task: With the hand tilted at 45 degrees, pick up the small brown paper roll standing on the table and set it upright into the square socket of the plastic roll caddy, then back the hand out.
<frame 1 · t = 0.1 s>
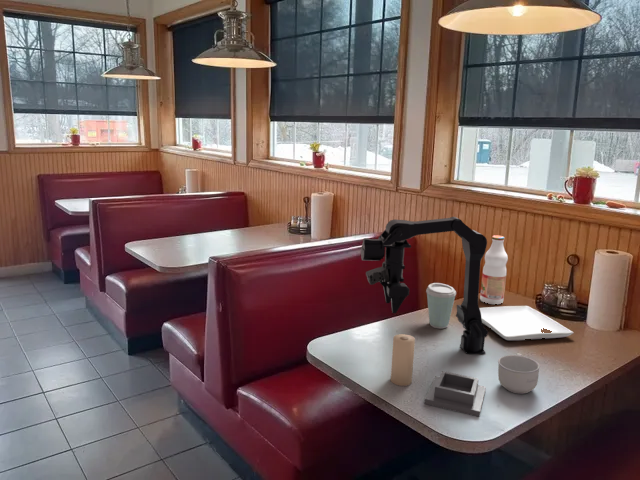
hand: (390, 308, 166), 15 cm above the table, tool pointing down, fingers open, 9 cm apart
roll caddy: (455, 397, 142), on the table
disposable coffee cup: (438, 326, 192), on the table
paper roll: (401, 380, 150), on the table
teacup: (516, 386, 149), on the table
fruit juice: (491, 301, 221), on the table
square plate: (516, 329, 193), on the table
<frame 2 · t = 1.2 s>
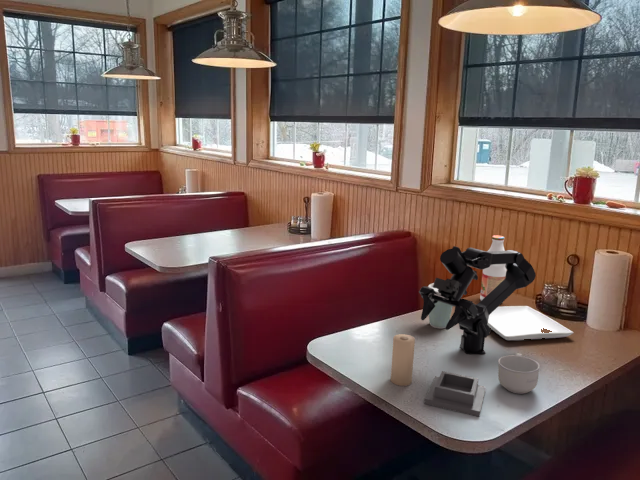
hand: (433, 324, 157), 13 cm above the table, tool tilted 45°, fingers open, 9 cm apart
nothing on the table moved.
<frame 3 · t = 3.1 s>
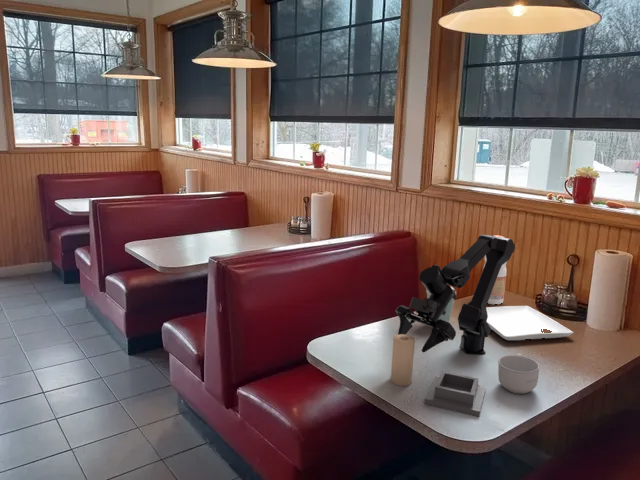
hand: (409, 346, 150), 10 cm above the table, tool tilted 45°, fingers open, 9 cm apart
nothing on the table moved.
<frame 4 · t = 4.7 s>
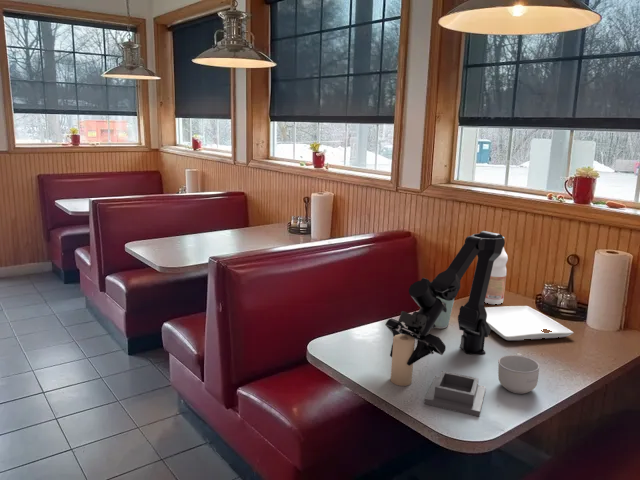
hand: (399, 360, 148), 7 cm above the table, tool tilted 45°, fingers closed on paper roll, 6 cm apart
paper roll: (401, 380, 150), on the table, touching gripper
everything else where it was.
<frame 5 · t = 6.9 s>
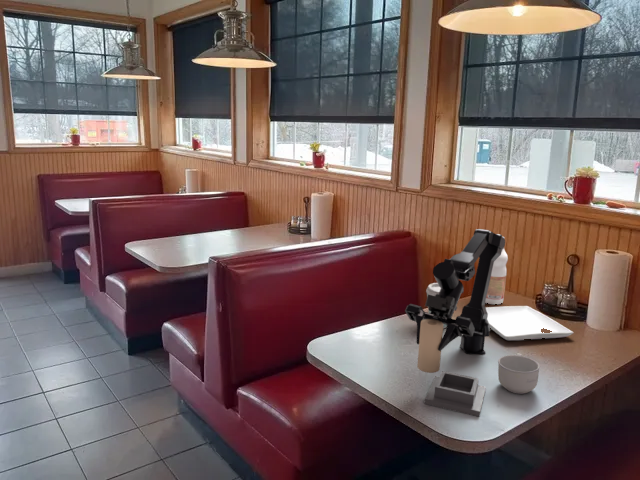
hand: (428, 346, 141), 13 cm above the table, tool tilted 45°, fingers closed on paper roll, 6 cm apart
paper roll: (428, 367, 144), point 7 cm above the table, touching gripper
everything else where it was.
when the fingers open (9 cm above the table, at t = 9.0 s): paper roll drops 1 cm, resting on roll caddy.
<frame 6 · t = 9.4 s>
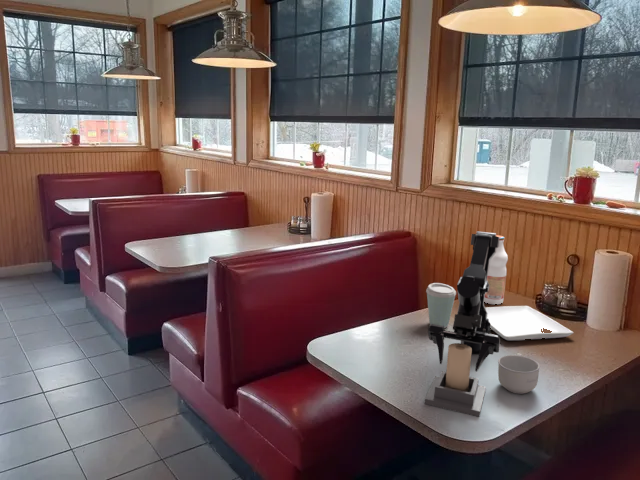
hand: (458, 367, 138), 10 cm above the table, tool tilted 45°, fingers open, 9 cm apart
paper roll: (456, 392, 141), point 2 cm above the table, touching roll caddy
everything else where it was.
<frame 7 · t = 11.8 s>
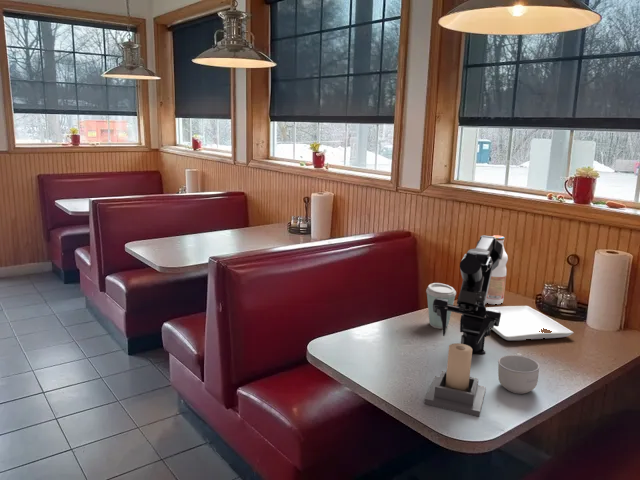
hand: (460, 339, 147), 13 cm above the table, tool tilted 40°, fingers open, 9 cm apart
nothing on the table moved.
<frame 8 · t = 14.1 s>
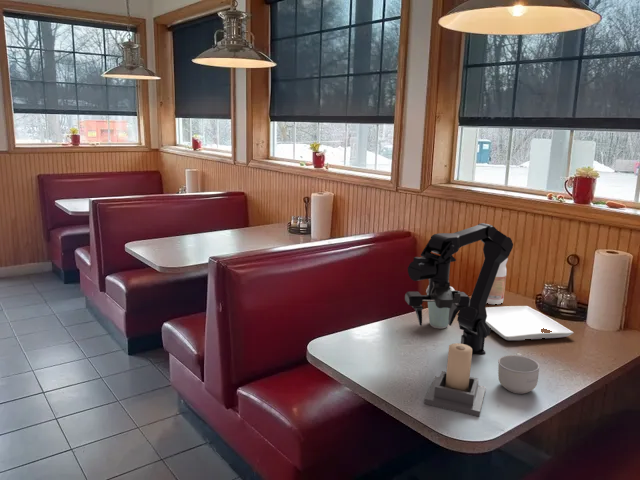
hand: (435, 325, 160), 12 cm above the table, tool pointing down, fingers open, 9 cm apart
nothing on the table moved.
at the end: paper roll 0.0 cm off-centre on the roll caddy, point 1.5 cm above the roll caddy's base; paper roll tilted 1°; the gripper is holding nothing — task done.
